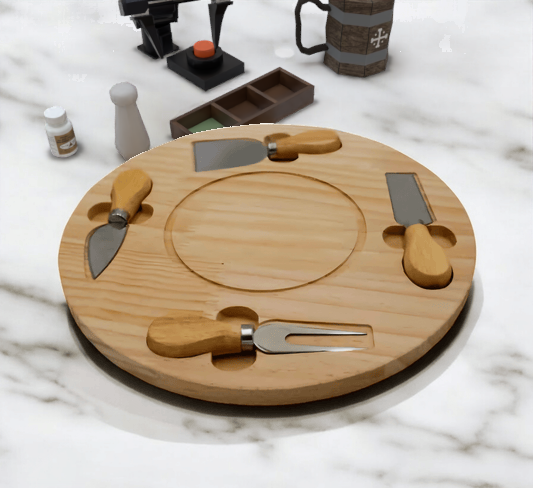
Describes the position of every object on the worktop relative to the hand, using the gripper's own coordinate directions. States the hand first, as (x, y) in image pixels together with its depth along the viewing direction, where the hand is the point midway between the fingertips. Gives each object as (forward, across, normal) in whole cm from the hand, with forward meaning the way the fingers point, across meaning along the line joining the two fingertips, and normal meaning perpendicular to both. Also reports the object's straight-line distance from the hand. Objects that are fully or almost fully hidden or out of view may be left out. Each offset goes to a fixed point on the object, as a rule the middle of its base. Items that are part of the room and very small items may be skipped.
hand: (189, 53), depth 106 cm
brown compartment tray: (+13, +9, +4) cm, 16 cm away
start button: (+2, +7, +19) cm, 21 cm away
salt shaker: (+15, -12, +1) cm, 19 cm away
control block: (+6, +7, +21) cm, 23 cm away
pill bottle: (+13, -23, +6) cm, 27 cm away
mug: (+8, +33, +15) cm, 38 cm away
